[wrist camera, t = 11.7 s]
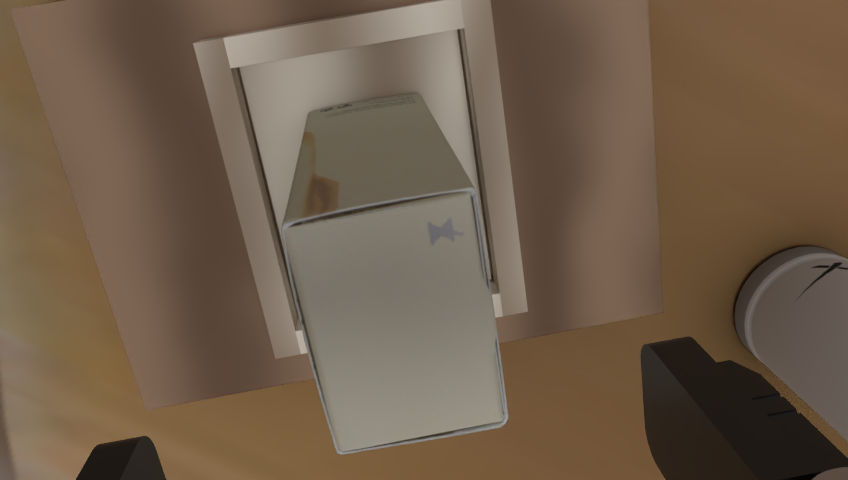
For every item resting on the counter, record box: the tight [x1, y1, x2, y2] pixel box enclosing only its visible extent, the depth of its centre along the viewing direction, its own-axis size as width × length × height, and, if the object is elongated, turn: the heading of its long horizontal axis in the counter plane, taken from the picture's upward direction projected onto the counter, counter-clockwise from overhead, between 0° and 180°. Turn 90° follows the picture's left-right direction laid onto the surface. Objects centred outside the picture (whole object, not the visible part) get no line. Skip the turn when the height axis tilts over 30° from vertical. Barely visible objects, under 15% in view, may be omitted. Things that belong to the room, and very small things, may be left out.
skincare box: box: [281, 93, 508, 455], centre depth 22 cm, size 6×4×12 cm
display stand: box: [10, 0, 663, 410], centre depth 29 cm, size 22×16×6 cm
